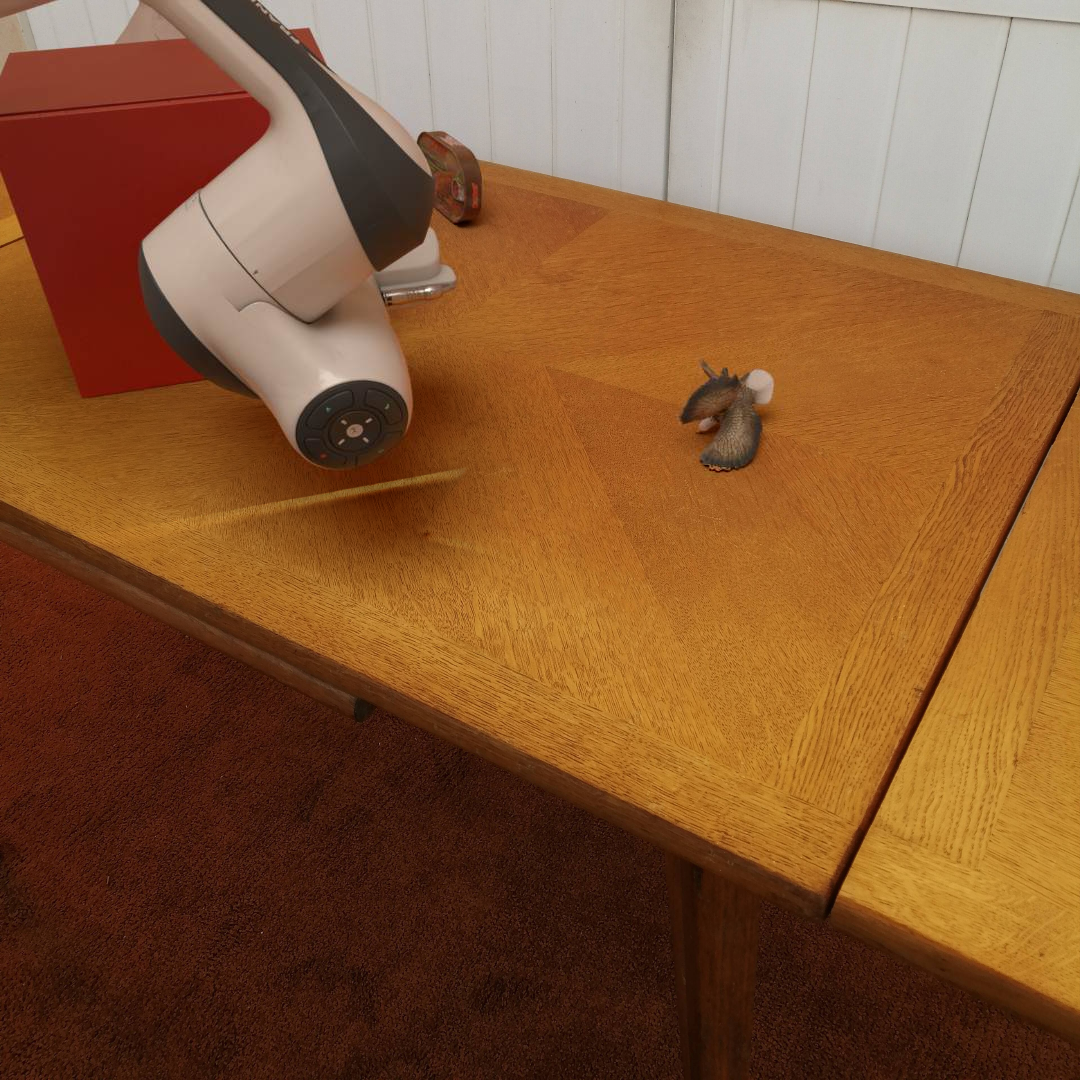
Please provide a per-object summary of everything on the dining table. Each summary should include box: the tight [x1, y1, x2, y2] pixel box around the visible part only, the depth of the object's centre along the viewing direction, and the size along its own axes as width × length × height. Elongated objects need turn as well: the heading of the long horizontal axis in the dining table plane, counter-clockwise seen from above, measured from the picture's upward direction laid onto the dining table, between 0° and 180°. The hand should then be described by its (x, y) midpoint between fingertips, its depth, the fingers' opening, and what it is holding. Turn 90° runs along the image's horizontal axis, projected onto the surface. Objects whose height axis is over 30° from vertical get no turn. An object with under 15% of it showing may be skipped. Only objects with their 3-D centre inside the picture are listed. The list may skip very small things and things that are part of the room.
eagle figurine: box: [678, 359, 775, 469], centre depth 82 cm, size 8×7×9 cm
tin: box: [416, 130, 483, 224], centre depth 120 cm, size 15×3×8 cm, turn 27°
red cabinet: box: [0, 27, 328, 117], centre depth 92 cm, size 18×26×24 cm
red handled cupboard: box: [0, 93, 270, 399], centre depth 83 cm, size 6×26×24 cm, turn 107°
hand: (300, 235), depth 82 cm, fingers closed on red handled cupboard, 2 cm apart
